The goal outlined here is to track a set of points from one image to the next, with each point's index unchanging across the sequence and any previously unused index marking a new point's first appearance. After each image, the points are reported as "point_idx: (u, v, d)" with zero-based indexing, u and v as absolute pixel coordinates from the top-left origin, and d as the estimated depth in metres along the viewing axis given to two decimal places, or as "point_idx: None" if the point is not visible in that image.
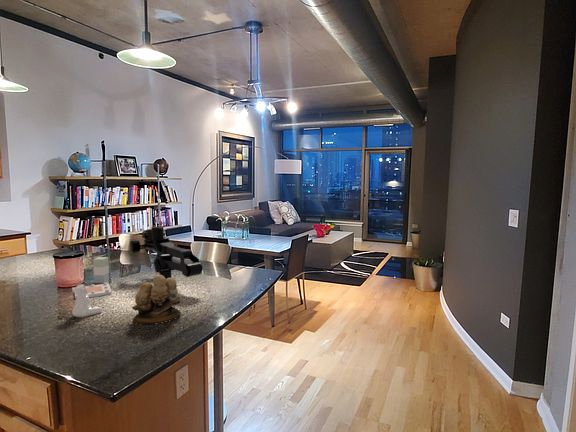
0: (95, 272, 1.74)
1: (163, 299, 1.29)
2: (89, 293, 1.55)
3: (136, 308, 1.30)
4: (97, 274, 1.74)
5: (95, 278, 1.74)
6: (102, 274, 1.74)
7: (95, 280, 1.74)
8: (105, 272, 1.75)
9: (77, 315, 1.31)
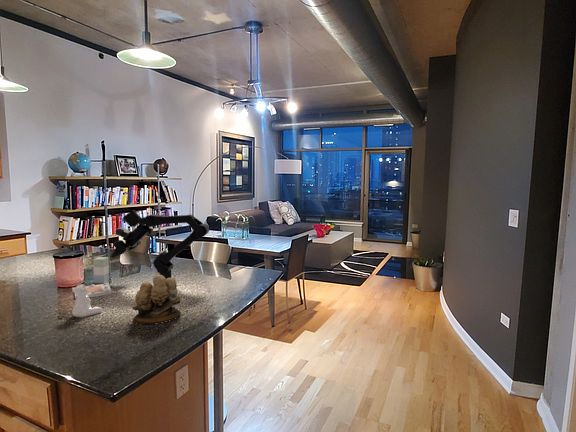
0: (95, 272, 1.74)
1: (163, 299, 1.29)
2: (89, 293, 1.55)
3: (136, 308, 1.30)
4: (97, 274, 1.74)
5: (95, 278, 1.74)
6: (102, 274, 1.74)
7: (95, 280, 1.74)
8: (105, 272, 1.75)
9: (77, 315, 1.31)
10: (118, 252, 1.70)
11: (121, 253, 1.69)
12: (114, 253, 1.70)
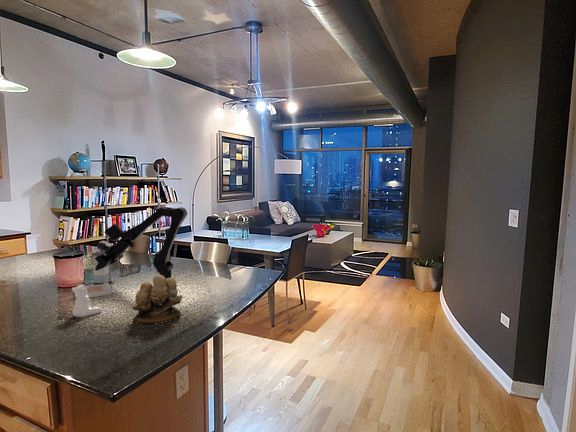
0: (95, 272, 1.74)
1: (163, 299, 1.29)
2: (89, 293, 1.55)
3: (136, 308, 1.30)
4: (97, 274, 1.74)
5: (95, 278, 1.74)
6: (102, 274, 1.74)
7: (95, 280, 1.74)
8: (105, 272, 1.75)
9: (77, 315, 1.31)
10: None
11: None
12: (98, 266, 1.72)
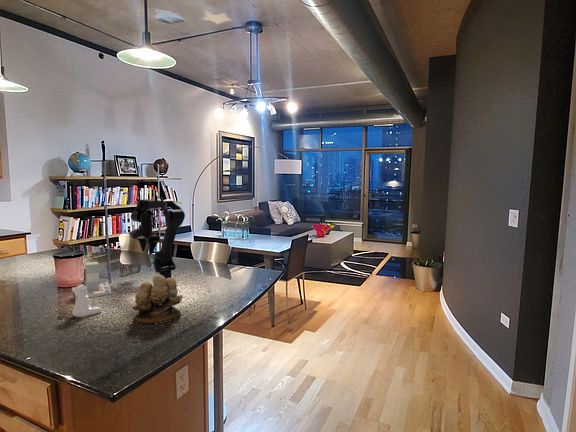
0: (88, 279, 1.57)
1: (163, 299, 1.29)
2: (89, 293, 1.55)
3: (136, 308, 1.30)
4: (91, 281, 1.58)
5: (88, 286, 1.57)
6: (97, 280, 1.59)
7: (88, 288, 1.58)
8: (98, 277, 1.60)
9: (77, 315, 1.31)
10: (153, 245, 1.82)
11: (156, 243, 1.82)
12: (151, 249, 1.82)
